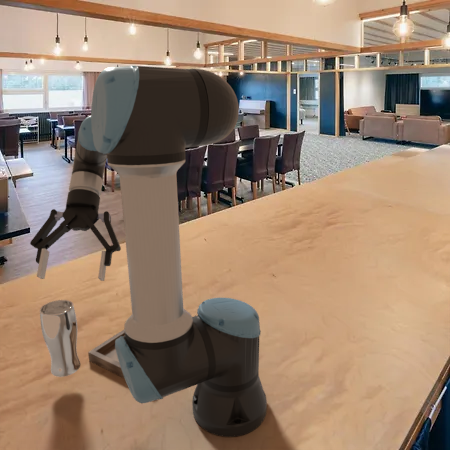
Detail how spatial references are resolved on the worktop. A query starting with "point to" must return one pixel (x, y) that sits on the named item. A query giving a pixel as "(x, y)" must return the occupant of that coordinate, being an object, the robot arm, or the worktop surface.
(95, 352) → the walnut tray
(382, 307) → the worktop surface
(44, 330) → the silver metal cup
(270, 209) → the worktop surface
